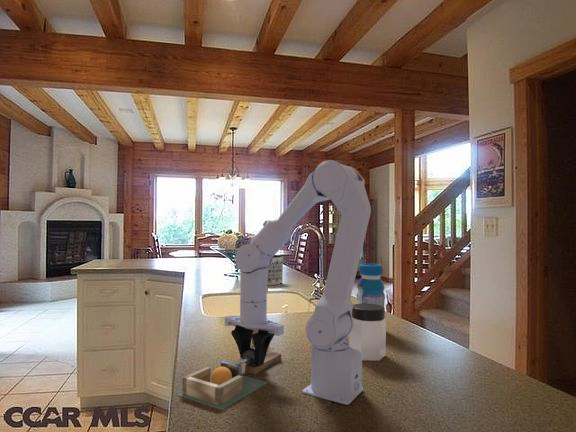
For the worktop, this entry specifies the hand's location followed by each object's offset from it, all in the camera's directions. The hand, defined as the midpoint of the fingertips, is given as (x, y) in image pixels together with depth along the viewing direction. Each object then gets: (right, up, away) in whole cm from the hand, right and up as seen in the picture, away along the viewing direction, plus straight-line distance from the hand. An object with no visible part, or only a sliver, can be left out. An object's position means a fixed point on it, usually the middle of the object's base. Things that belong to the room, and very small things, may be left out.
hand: (252, 363), depth 85 cm
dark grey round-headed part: (-1, -1, -2) cm, 3 cm away
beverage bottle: (+33, -3, +35) cm, 48 cm away
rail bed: (+2, -2, +4) cm, 5 cm away
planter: (-3, -4, +124) cm, 124 cm away
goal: (-7, -2, -11) cm, 13 cm away
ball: (-5, 0, -9) cm, 10 cm away
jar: (+27, -3, +12) cm, 30 cm away
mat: (-5, -2, -9) cm, 10 cm away
